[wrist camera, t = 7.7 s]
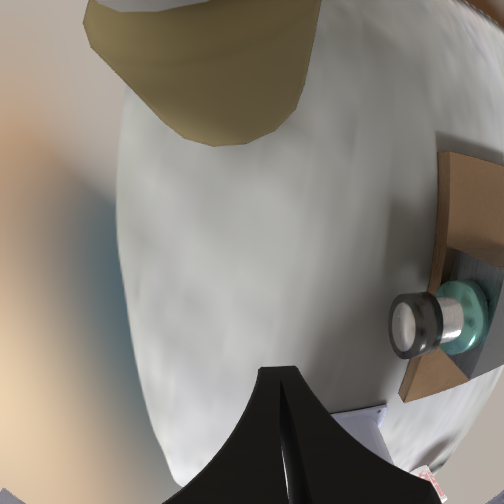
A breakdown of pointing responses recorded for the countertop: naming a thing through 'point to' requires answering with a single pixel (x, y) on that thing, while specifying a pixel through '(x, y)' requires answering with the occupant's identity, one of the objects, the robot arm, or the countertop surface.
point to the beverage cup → (429, 479)
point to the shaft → (439, 320)
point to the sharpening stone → (465, 268)
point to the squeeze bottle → (209, 60)
